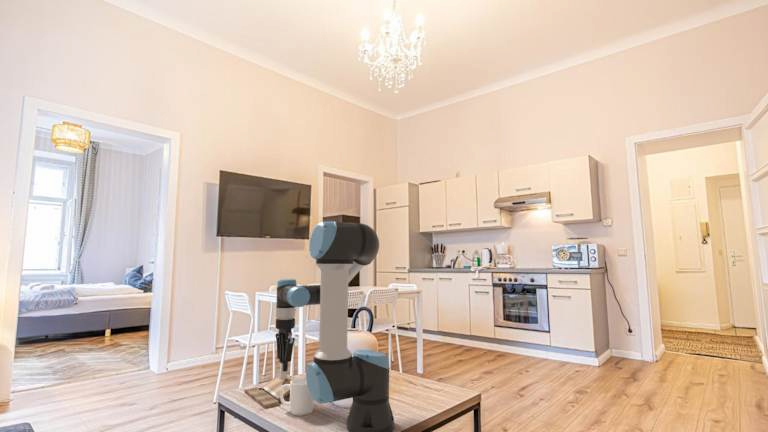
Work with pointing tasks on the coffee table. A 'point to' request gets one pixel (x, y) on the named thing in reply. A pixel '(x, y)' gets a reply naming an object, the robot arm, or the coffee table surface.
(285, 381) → the plank
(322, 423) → the coffee table surface
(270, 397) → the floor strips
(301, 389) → the cup
